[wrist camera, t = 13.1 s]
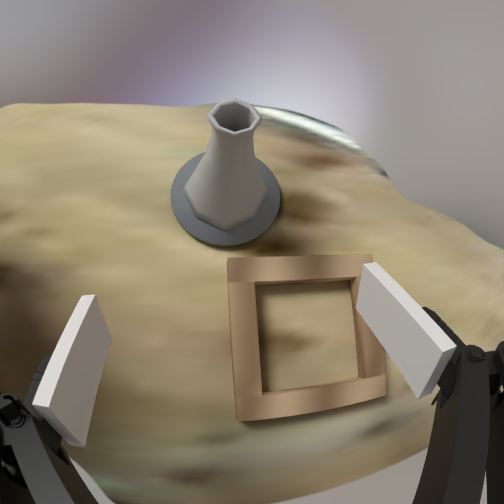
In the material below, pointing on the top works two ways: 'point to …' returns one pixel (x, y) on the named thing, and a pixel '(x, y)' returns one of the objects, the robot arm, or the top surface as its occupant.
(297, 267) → the holder
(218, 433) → the top surface
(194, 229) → the coaster
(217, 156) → the flask
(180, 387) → the top surface
